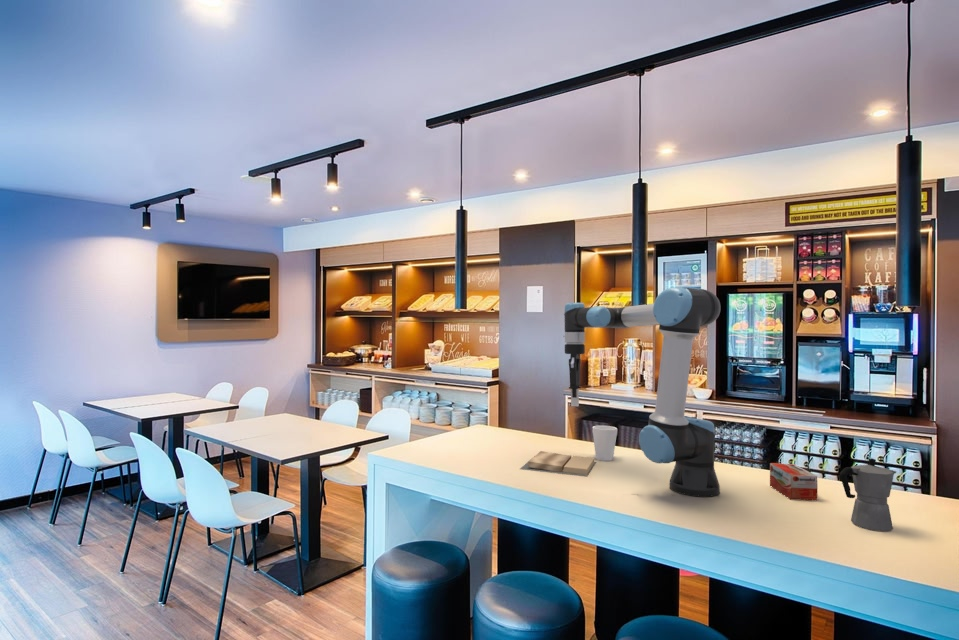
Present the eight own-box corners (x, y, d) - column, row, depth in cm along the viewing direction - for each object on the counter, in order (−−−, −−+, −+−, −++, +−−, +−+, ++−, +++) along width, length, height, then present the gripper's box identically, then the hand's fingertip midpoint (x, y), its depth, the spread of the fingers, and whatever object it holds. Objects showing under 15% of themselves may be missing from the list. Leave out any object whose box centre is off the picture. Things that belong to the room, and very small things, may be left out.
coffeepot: (881, 519, 152) (881, 454, 152) (909, 532, 143) (910, 463, 143) (827, 519, 151) (828, 454, 151) (852, 532, 142) (853, 462, 142)
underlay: (596, 464, 207) (596, 456, 207) (587, 479, 187) (587, 470, 187) (534, 458, 215) (534, 450, 215) (519, 471, 195) (519, 463, 195)
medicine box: (818, 501, 168) (818, 475, 168) (790, 500, 168) (790, 474, 168) (793, 487, 183) (793, 463, 183) (768, 486, 183) (768, 462, 183)
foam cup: (617, 464, 208) (618, 430, 208) (592, 463, 209) (593, 429, 209) (615, 459, 217) (615, 426, 217) (591, 457, 218) (592, 425, 219)
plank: (571, 460, 209) (571, 455, 209) (561, 472, 192) (561, 466, 192) (540, 456, 213) (540, 451, 213) (528, 467, 196) (528, 461, 196)
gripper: (567, 343, 215) (567, 403, 214) (561, 343, 203) (561, 407, 202) (586, 343, 213) (587, 404, 212) (582, 343, 200) (582, 408, 199)
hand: (574, 406), depth 207 cm, fingers closed
